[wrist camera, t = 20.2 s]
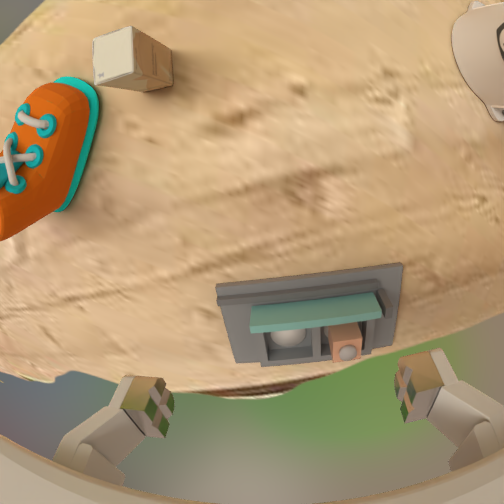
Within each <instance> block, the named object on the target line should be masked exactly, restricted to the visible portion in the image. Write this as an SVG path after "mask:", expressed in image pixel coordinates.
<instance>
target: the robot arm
mask: <svg viewBox="0 0 504 504" xmlns="http://www.w3.org/2000/svg"><path fill="white" fill-rule="evenodd" d="M452 47H453V52H454V56H455V59H456V62H457V65H458V67H459V70H460V72H461V74H462V76H463V77H464V79H465V81H466V82H467V84H468V85H469V87H470V88H471V89H472V90H473V92H474V93H475V94H476V95H477V96H478V97H479V98H480V99H481V100H482V101H483V102H484V103H485V105H486V107H487V109H488V111H489V113H490V115H491V117H492V118H493V120H495V121H504V2H501V3H496V4H491V5H484V4H482V3H481V2H479V1H473V2H471V3H470V5H469V7H468V11H467V12H466V13H465V14H463V15H461V16H460V17H459V18H458V19H457V20H456V22H455V23H454V26H453V30H452ZM502 112H503V114H502ZM398 367H399V370H398V372H396V374H395V380H394V385H395V392H396V396H397V399H399V400H400V401H402V404H401V407H400V410H401V413H402V416H403V420H404V423H409V422H413V421H417V420H421V419H425V418H427V420H428V421H429V422H430V423H431V424H433V425H434V426H435V427H436V428H437V429H438V430H439V431H440V432H441V433H443V434H444V435H445V436H446V437H447V438H448V439H449V440H450V441H452V442H453V443H454V444H455V445H456V446H457V447H458V449H457V450H456V452H455V453H454V454H453V456H452V457H451V458H450V459H449V461H448V462H449V466H450V470H451V472H450V473H447V474H444V475H442V476H439V477H436V478H433V479H430V480H427V481H424V482H421V483H417V484H414V485H411V486H407V487H403V488H400V489H396V490H392V491H388V492H383V493H379V494H375V495H370V496H364V497H359V498H353V499H347V500H341V501H332V502H324V503H314V504H504V406H503V405H502V404H500V403H498V402H497V401H495V400H493V399H492V398H490V397H488V396H487V395H485V394H483V393H482V392H480V391H479V390H477V389H475V388H474V387H472V386H470V385H469V384H467V383H466V382H464V381H458V379H457V377H456V375H455V373H454V371H453V369H452V367H451V365H450V363H449V361H448V359H447V357H446V356H445V354H444V352H443V350H442V349H441V348H437V349H433V350H429V351H424V352H420V353H416V354H412V355H407V356H403V357H400V359H399V361H398ZM165 386H166V383H165V381H164V379H163V378H158V377H145V376H133V375H125V376H124V377H122V379H121V381H120V383H119V386H118V387H117V389H116V392H115V393H114V396H113V398H112V400H111V402H110V404H109V406H108V407H106V406H105V407H104V408H102V409H101V410H99V411H98V412H97V413H95V414H94V415H93V416H91V417H90V418H89V419H87V420H86V421H84V422H83V423H81V424H80V425H79V426H77V427H76V428H75V429H73V430H72V431H70V432H69V433H68V434H66V435H64V437H63V439H62V441H61V443H60V445H59V447H58V449H57V451H56V453H55V455H54V457H53V459H52V461H51V460H49V459H47V458H44V457H42V456H40V455H38V454H36V453H34V452H32V451H30V450H28V449H26V448H24V447H22V446H20V445H18V444H17V443H15V442H13V441H11V440H10V439H8V438H6V437H4V436H2V435H0V504H217V503H208V502H199V501H191V500H185V499H178V498H172V497H166V496H162V495H157V494H152V493H148V492H142V491H139V490H134V489H131V488H127V487H124V486H123V483H124V479H125V475H124V474H123V473H122V472H121V471H120V470H119V469H117V468H116V466H117V465H118V464H119V463H120V462H121V461H122V460H123V459H124V458H125V457H126V456H127V455H128V454H129V453H130V452H131V451H132V450H133V449H134V448H135V447H136V446H137V445H138V444H139V443H140V442H141V441H142V440H143V439H144V438H145V436H149V437H158V438H165V437H166V434H167V431H168V428H169V422H168V418H169V417H170V416H171V415H173V411H174V397H173V395H172V393H171V391H169V390H168V389H166V388H165Z"/></svg>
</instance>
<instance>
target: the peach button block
mask: <svg viewBox="0 0 504 504" xmlns="http://www.w3.org/2000/svg"><path fill="white" fill-rule="evenodd" d="M328 340H329V346H330V351H331V356H332V361H333V363H334V362H341V361H349V360H354V359H360V358H361V348H362V335H361V332H360V329H359V326H358V323H357V322H352V323H345V324H338V325H330V326H328Z"/></svg>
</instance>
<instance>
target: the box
mask: <svg viewBox="0 0 504 504" xmlns="http://www.w3.org/2000/svg"><path fill="white" fill-rule="evenodd" d="M93 73H94V84H95V85H98V86H107V87H114V88H121V89H128V90H134V91H139V92H145V91H150V90H155V89H159V88H163V87H168V86H172V85H173V73H172V59H171V50H170V49H169V48H168V47H166V46H165V45H163V44H161V43H160V42H158V41H156V40H155V39H153V38H151V37H150V36H148V35H146V34H145V33H143V32H141V31H139V30H138V29H136V28H134V27H133V26H129V27H125V28H122V29H119V30H115V31H112V32H110V33H107V34H104V35H101V36H99V37H96V38H94V39H93Z"/></svg>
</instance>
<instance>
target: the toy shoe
mask: <svg viewBox="0 0 504 504" xmlns="http://www.w3.org/2000/svg"><path fill="white" fill-rule="evenodd" d="M98 114H99V101H98V96H97V94H96V92H95V90H94V89H93V88H92V87H91V86H90V85H89V84H87V83H86V82H84V81H82V80H80V79H77V78H74V77H61V78H59V79H57V80H56V81H54V82H53V83H48V84H44V85H42V86H40V87H39V88H37V89H35V90H34V91H33V92H32V93H31V94H30V95H29V96H28V97H27V98H26V100H25V102H24V103H23V104H22V105H21V106H20V107H19V108H18V110H17V112H16V115H15V122H14V125H13V127H12V130H11V133H10V134H9V135H8V136H7V137H6V139H5V143H4V147H3V150H2V152H1V153H0V241H3V240H5V239H8V238H10V237H12V236H13V235H15V234H17V233H19V232H20V231H22V230H23V229H25V228H27V227H28V226H30V225H32V224H33V223H35V222H36V221H38V220H40V219H41V218H43V217H45V216H46V215H48V214H50V213H51V212H61V211H63V210H64V209H65V208H66V207H67V206H68V204H69V203H70V201H71V200H72V198H73V196H74V194H75V192H76V189H77V187H78V184H79V182H80V179H81V176H82V173H83V170H84V167H85V164H86V161H87V157H88V154H89V150H90V147H91V143H92V140H93V136H94V133H95V129H96V125H97V120H98Z"/></svg>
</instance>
